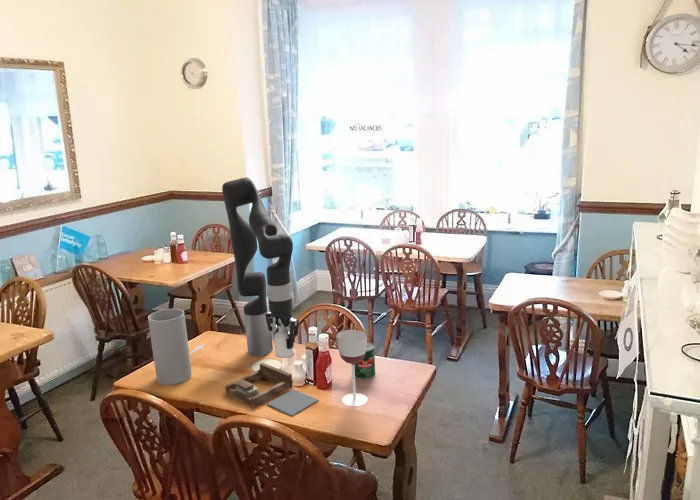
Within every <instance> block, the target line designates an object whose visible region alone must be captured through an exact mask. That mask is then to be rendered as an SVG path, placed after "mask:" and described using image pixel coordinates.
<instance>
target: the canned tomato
mask: <svg viewBox="0 0 700 500" xmlns="http://www.w3.org/2000/svg"><path fill="white" fill-rule="evenodd" d="M375 354H376V353H375V344H374V343H373V342H369V341H367V346H366V353H365V357H364V359H363V360H362V361H361V362H359V363H356V364H354V368H355V379H359V380H369V379H372V378H374V377H375V375H376V358H375V357H376V356H375Z"/></svg>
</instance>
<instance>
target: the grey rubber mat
mask: <svg viewBox="0 0 700 500" xmlns="http://www.w3.org/2000/svg"><path fill="white" fill-rule="evenodd" d="M319 401H320V400H319V399H318V398H316V397H313V396H311V395H308V394H306V393H304V392H302V391H298V390H296V389H292V390H290V391H288V392H286V393H284V394H283V395H280V396H278V397H277V398H275V399H273V400H271V401H269V402H267V406H269V407H271V408H273V409H275V410H278V411H280V412H281V413H284V414H286V415H288V416H291V417H294V416H296V415H297V414H300V413H301V412H303V411H304V410H307V409H308V408H310V407H311V406H313V405H314V404H316V403H318V402H319Z"/></svg>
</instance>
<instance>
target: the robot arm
mask: <svg viewBox="0 0 700 500" xmlns="http://www.w3.org/2000/svg"><path fill="white" fill-rule="evenodd" d="M221 190H222V191H221V192H222V197H223V202H224V206H225V210H226V215H227V219H228V225H229V232H230V241H231V247H232V252H233V256H234V257H233V259H234V262H235V272H236V284H237V290H238V291H237V292H238V293H239V295H240V297H244V298H245V297H247V298H248V297H256V298H255V299H254V300H251V301H249V302H248V303H246V304H244V306H243V313H244V325H245V334H246V335H245V336H246V345H247V346H246V347H247V354H248V355H249V356H252V357H263V356H266V355H268V354H270V353H271V351H272V350H273V347H274V346H273V342H274V341H273V337H274V335H275V333H277V332H279V328H278V326H281V328H282V331H283V332H284V333H285V335H286V345H287V349H291V348H293V349H294V338H295V337H297V336H298V334H299V326H300V325H299V322H300V320H299V319H298V318H293V315H292V310H293V296H292V286H291V281H290V280H291V279H290V277H291V276H290V266H291V260H292V256H293V255H292V254H293V250H294V243H293V239H292V238H291V237H290V235H289V234H287V233H280V234H278V228H277V225H276V224H275V223H274V221H273V220H272V218H271V216H270V215H269V213H268V212H267V210H266V208H265V205H264V203H263V200H262V198H261V196H260V194H259V191H258V189H257V187H256V185H255V183H254V181H253V180H252V179H251V178H250V177H241V178H237V179H232V180H229V181H226V182H224V183H223V184H222V186H221ZM249 204H252V205H251V209H250V212H249V215H248V222H247V221H246V220H245V219H244V218H243V217H242V216H241V215H240V214H239V212H238V209H237V208H239V207H241V206H242V207H243V206H245V205H249ZM257 251H259V254H260V256H261V257H262V258H264V259H267V260H272V259H275V258H276V259H277V258H278V259H277V261H276V262H274V263H272V264H269V265H268V266H267V268H266V275H265V273H264V272H262V271H259V272H258V271H256V272H246V271H247V267H248V266H249V264H250V262H251V261H252V260H253V259H254V257H255V255H256V253H257ZM266 279H267V281H266ZM267 301H268V304H267ZM268 311H269V312H268ZM285 327H286V328H285ZM288 332H290V334H288ZM272 336H273V337H272ZM274 344H275V342H274Z"/></svg>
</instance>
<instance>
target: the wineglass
mask: <svg viewBox="0 0 700 500" xmlns="http://www.w3.org/2000/svg"><path fill="white" fill-rule="evenodd" d="M367 342H368V336H367V333H366V332H365V331H362V330H357V329H346V330H345V329H344V330H342V331H339V332H338V333H337V334H336V344H337V348H338V354H339V356H340V358H341V359H342V361H344V362H346V363H347V364H350V365H351V380H352V393H348V394H346V395H344V396H343V397H342V398H341V403H343V405H346V406H348V407H359V406H360V407H361V406H362V405H364V404H366V403H367V402H368V400H369V399H368V397H367V395H365V394H363V393H360V392H359V393H358V392H356V389H357V388H356V377H355V368H354V364H356V363H359V362H361V361H362V360H363V359H364V357H365V353H366V346H367Z"/></svg>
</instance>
